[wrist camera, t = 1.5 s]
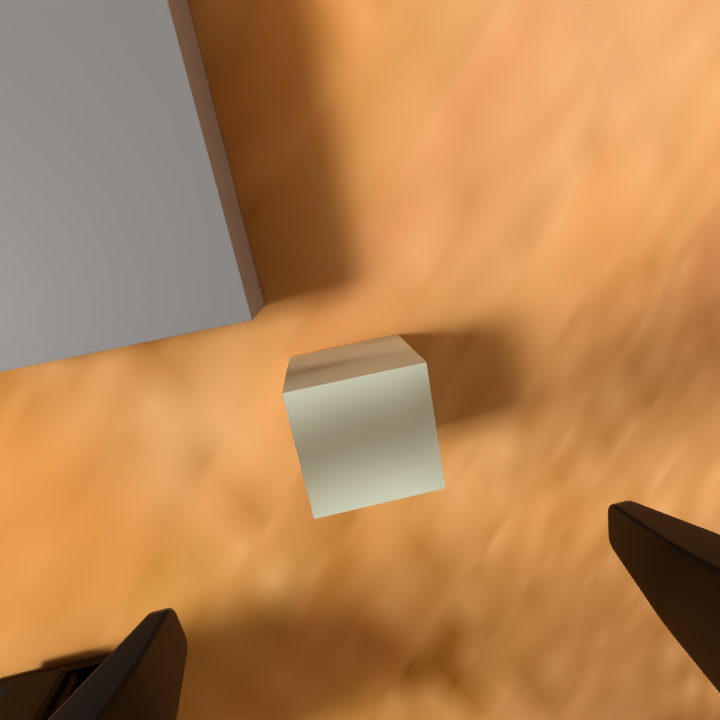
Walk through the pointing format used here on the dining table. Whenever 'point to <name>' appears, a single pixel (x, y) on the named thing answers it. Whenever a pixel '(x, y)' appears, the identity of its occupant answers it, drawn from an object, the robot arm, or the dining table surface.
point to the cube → (363, 424)
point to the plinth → (112, 183)
